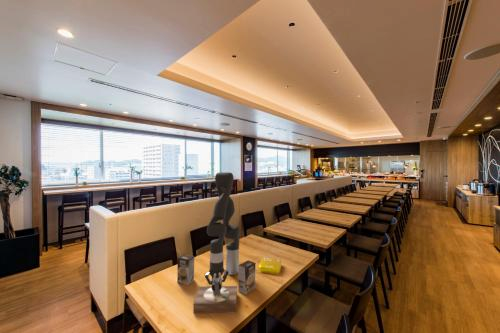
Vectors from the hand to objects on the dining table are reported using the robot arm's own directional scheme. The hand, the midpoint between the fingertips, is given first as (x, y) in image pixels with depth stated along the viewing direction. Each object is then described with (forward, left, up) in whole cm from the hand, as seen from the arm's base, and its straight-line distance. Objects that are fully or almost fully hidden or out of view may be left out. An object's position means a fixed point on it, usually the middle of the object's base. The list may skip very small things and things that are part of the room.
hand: (216, 289), depth 116 cm
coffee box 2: (-12, +17, -8) cm, 22 cm away
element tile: (-38, +35, -8) cm, 52 cm away
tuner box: (0, 0, -7) cm, 7 cm away
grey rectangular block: (+2, 0, -2) cm, 3 cm away
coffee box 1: (-22, -23, -8) cm, 33 cm away
